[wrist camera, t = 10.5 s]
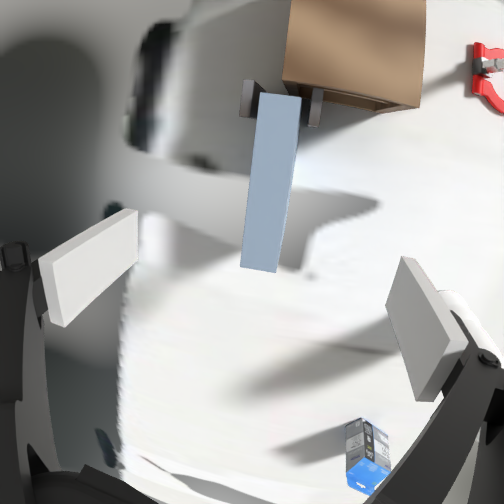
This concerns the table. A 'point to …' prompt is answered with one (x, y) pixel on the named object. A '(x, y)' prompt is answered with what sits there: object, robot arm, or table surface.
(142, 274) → the table surface
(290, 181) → the door
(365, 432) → the label tape box
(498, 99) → the tow hook
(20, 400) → the robot arm
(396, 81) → the cabinet
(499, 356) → the water bottle
